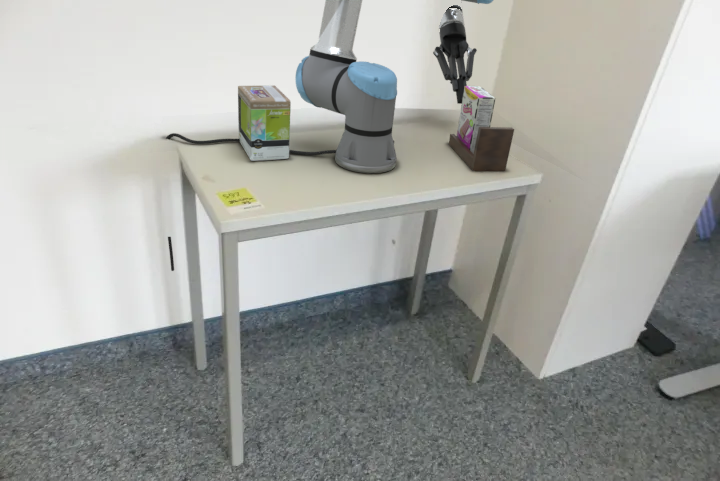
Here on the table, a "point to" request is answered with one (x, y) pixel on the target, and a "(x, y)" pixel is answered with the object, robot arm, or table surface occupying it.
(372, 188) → the table surface
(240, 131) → the tea box
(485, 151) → the book rack
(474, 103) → the candy bar box
